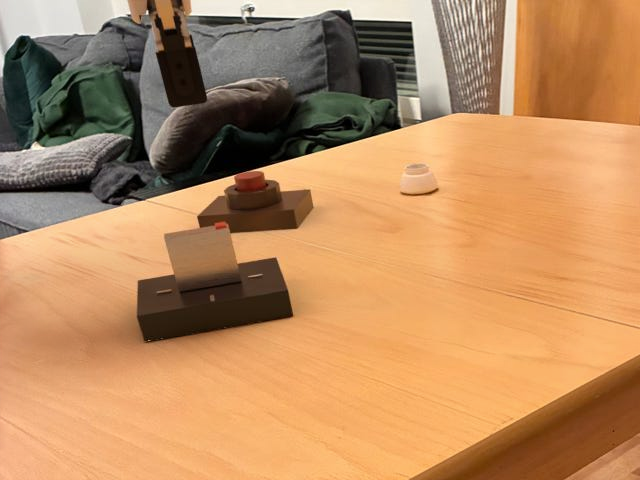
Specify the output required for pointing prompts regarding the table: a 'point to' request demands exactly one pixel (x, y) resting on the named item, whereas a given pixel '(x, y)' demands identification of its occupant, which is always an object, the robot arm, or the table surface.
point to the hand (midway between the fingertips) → (187, 96)
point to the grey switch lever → (202, 257)
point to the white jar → (418, 179)
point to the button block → (258, 209)
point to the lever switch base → (212, 302)
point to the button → (250, 181)
